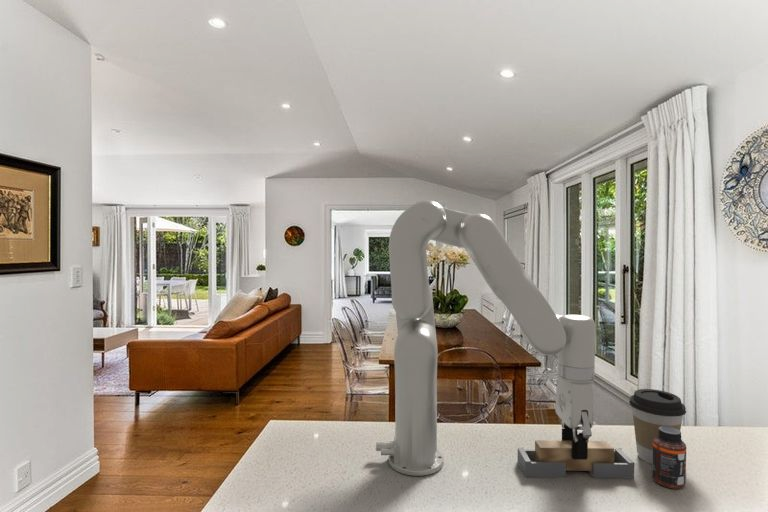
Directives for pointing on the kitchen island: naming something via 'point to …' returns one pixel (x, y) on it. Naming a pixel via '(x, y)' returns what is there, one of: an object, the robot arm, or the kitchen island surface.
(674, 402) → the coffee cup
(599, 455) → the light wood rectangular block
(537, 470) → the cap
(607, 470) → the cap
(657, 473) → the supplement bottle
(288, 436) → the kitchen island surface
